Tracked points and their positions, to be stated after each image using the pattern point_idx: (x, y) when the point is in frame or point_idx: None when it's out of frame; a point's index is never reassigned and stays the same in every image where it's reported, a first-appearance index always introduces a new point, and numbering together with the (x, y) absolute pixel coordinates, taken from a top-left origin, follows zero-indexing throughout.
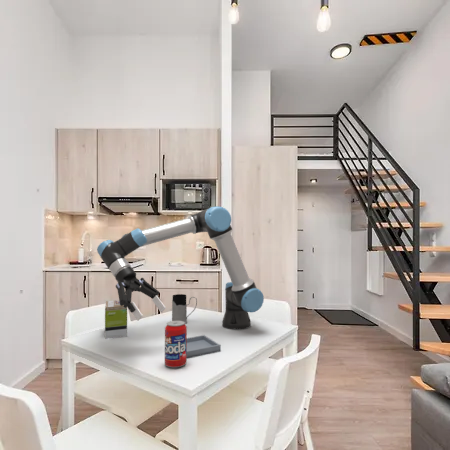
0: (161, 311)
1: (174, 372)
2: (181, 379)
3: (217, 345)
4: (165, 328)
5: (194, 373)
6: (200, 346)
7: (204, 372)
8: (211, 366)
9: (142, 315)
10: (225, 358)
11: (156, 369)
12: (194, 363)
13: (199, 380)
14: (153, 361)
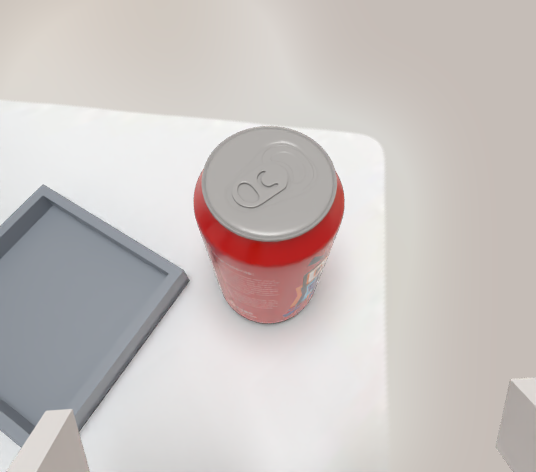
0: (85, 469)
1: None
2: (354, 189)
3: (52, 192)
4: (332, 235)
5: None
6: (40, 290)
7: None
8: None
9: (520, 379)
10: (126, 153)
11: (346, 320)
12: None
13: (327, 142)
14: (287, 399)
